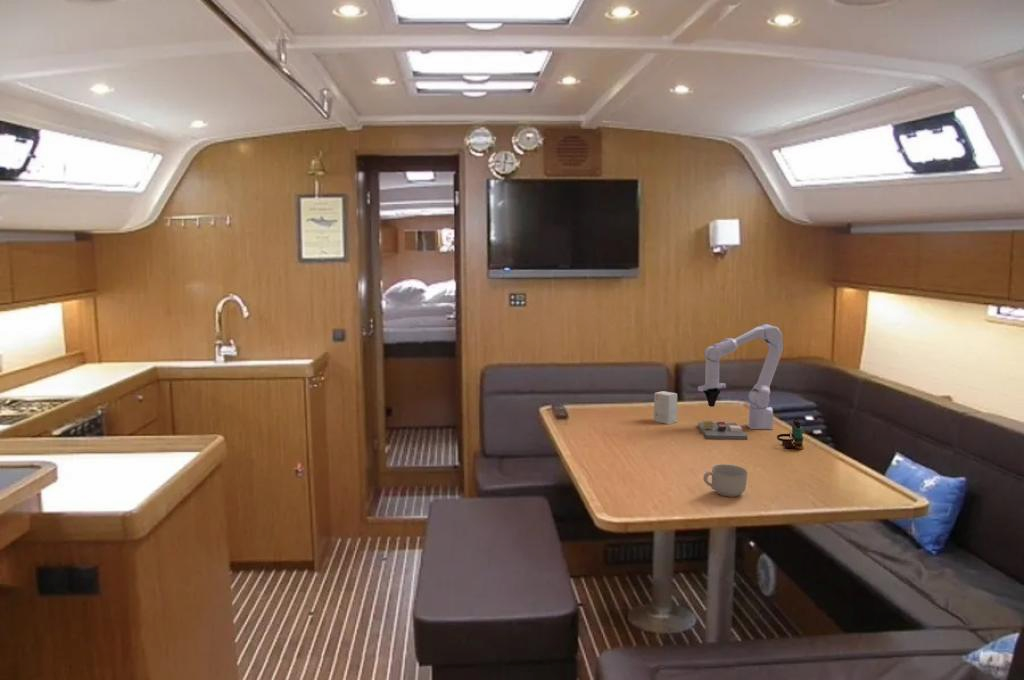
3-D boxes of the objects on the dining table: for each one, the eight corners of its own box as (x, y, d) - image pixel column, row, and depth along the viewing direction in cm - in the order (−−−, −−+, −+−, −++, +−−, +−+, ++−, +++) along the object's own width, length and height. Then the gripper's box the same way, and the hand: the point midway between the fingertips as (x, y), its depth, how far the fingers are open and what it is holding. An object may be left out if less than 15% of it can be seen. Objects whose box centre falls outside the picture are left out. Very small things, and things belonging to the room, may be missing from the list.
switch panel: (735, 426, 320) (735, 420, 320) (747, 439, 299) (747, 433, 298) (697, 425, 322) (698, 420, 322) (706, 439, 300) (706, 432, 300)
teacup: (740, 488, 239) (740, 463, 238) (751, 499, 229) (752, 474, 228) (697, 488, 239) (697, 464, 238) (707, 500, 228) (707, 474, 227)
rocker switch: (723, 424, 310) (724, 421, 310) (726, 429, 306) (726, 426, 305) (717, 424, 310) (717, 421, 310) (719, 429, 306) (719, 426, 305)
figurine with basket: (774, 419, 292) (801, 417, 290) (776, 445, 293) (803, 444, 291) (777, 424, 283) (805, 422, 281) (779, 451, 284) (807, 450, 282)
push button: (739, 430, 310) (739, 425, 309) (741, 432, 305) (741, 428, 305) (728, 430, 310) (728, 425, 310) (730, 432, 306) (730, 427, 306)
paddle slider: (712, 427, 310) (712, 420, 310) (712, 428, 308) (713, 421, 308) (702, 427, 311) (702, 420, 310) (703, 428, 309) (703, 421, 308)
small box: (677, 422, 329) (677, 393, 327) (668, 424, 325) (668, 395, 323) (662, 419, 335) (663, 390, 333) (653, 421, 331) (654, 392, 329)
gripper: (706, 377, 308) (706, 409, 310) (731, 374, 316) (730, 405, 318) (694, 375, 314) (693, 406, 316) (719, 372, 322) (718, 403, 324)
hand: (711, 406), depth 317 cm, fingers closed
